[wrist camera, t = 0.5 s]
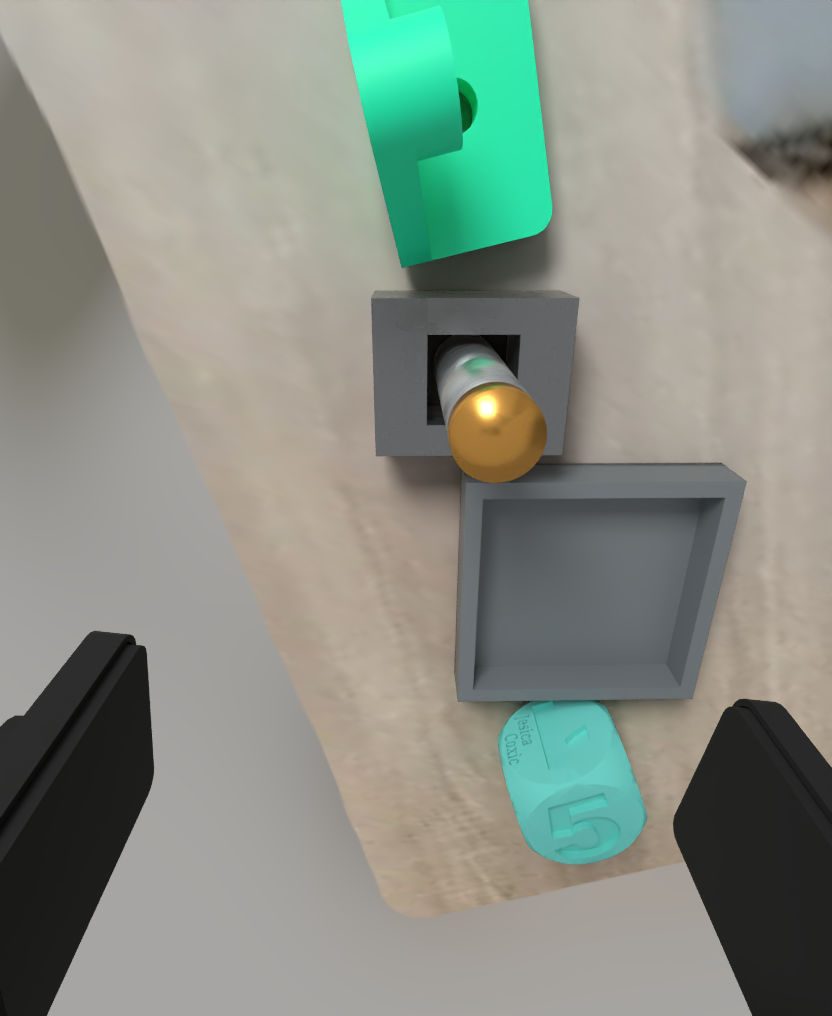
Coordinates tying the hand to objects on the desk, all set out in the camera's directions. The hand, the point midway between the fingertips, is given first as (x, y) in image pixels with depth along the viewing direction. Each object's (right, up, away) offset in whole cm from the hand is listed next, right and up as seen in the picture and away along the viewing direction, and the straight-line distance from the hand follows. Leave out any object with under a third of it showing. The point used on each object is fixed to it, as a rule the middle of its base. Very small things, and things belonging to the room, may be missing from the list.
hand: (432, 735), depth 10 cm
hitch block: (+3, +12, +24) cm, 27 cm away
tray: (+11, -1, +30) cm, 32 cm away
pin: (+3, +12, +24) cm, 27 cm away
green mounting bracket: (+1, +23, +20) cm, 30 cm away
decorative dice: (+11, -13, +36) cm, 40 cm away
